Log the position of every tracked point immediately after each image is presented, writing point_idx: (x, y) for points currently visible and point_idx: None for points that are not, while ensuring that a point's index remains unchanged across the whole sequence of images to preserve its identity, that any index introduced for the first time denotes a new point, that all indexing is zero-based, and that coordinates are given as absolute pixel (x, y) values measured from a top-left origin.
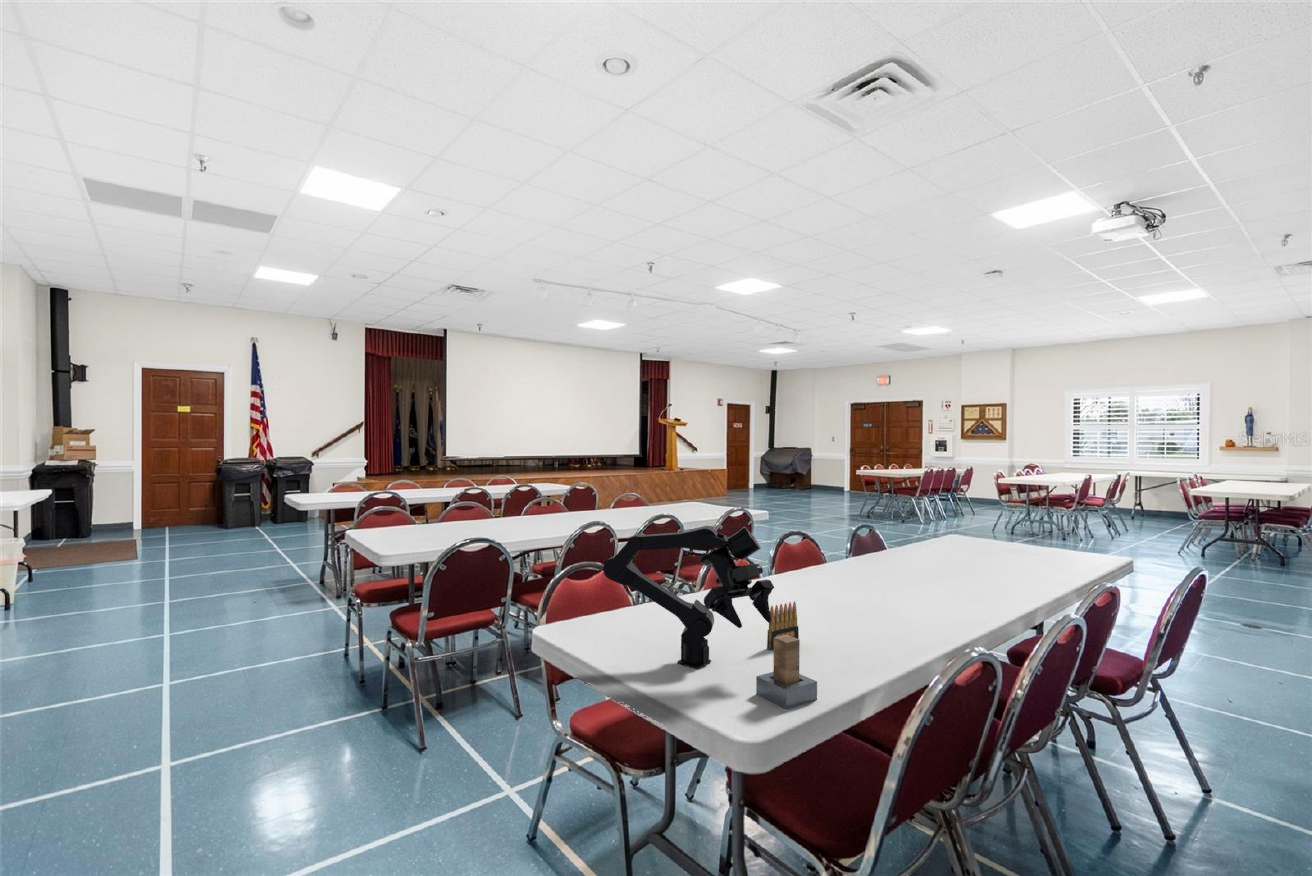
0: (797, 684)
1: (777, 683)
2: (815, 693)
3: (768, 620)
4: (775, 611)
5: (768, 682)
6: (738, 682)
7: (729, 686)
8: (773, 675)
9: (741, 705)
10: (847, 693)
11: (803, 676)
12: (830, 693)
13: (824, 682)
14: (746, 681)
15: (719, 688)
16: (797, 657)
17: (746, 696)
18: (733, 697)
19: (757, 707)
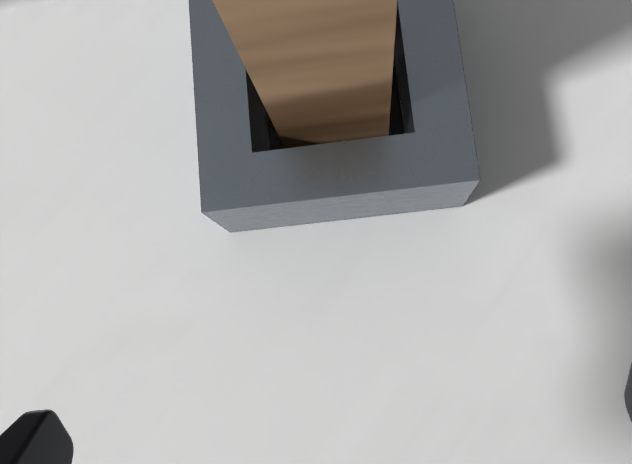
0: None
1: (426, 27)
2: None
3: (57, 445)
4: None
5: (462, 71)
6: (460, 402)
7: (549, 373)
8: (390, 105)
9: (626, 116)
10: (29, 25)
11: (203, 54)
12: (100, 57)
13: (17, 181)
14: (403, 392)
15: (626, 374)
16: None
17: (533, 203)
18: (613, 223)
19: (557, 63)
